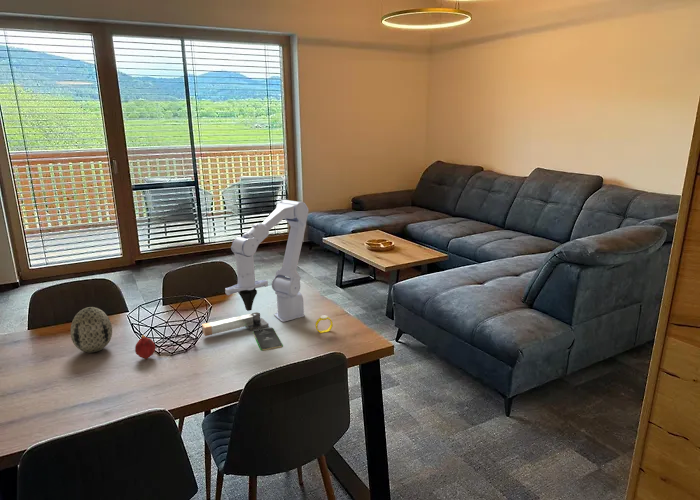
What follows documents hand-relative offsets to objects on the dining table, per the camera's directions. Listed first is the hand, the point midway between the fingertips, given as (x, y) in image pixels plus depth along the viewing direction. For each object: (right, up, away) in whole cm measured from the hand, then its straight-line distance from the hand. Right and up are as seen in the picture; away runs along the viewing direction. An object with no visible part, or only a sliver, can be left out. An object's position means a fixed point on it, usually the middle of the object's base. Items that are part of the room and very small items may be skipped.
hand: (248, 309), depth 161 cm
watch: (+26, -9, +4) cm, 27 cm away
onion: (-29, -14, -13) cm, 35 cm away
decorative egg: (-48, -13, -8) cm, 51 cm away
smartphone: (+7, -11, -1) cm, 12 cm away
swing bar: (-7, -7, +5) cm, 11 cm away
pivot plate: (+1, -7, +9) cm, 12 cm away
